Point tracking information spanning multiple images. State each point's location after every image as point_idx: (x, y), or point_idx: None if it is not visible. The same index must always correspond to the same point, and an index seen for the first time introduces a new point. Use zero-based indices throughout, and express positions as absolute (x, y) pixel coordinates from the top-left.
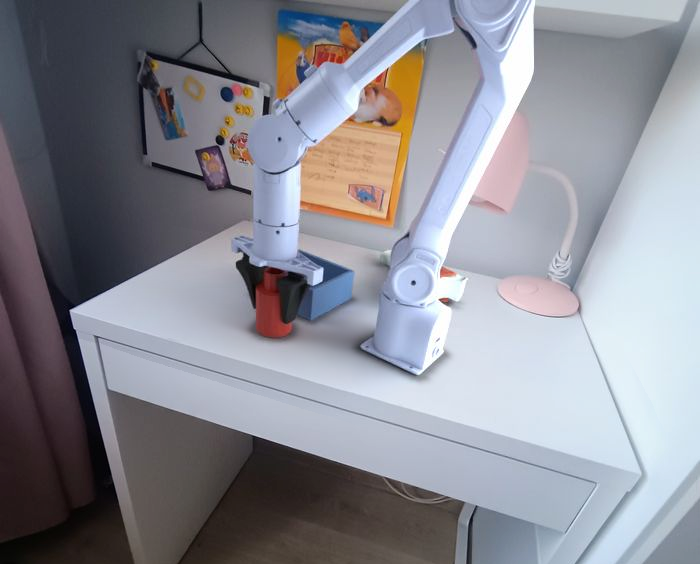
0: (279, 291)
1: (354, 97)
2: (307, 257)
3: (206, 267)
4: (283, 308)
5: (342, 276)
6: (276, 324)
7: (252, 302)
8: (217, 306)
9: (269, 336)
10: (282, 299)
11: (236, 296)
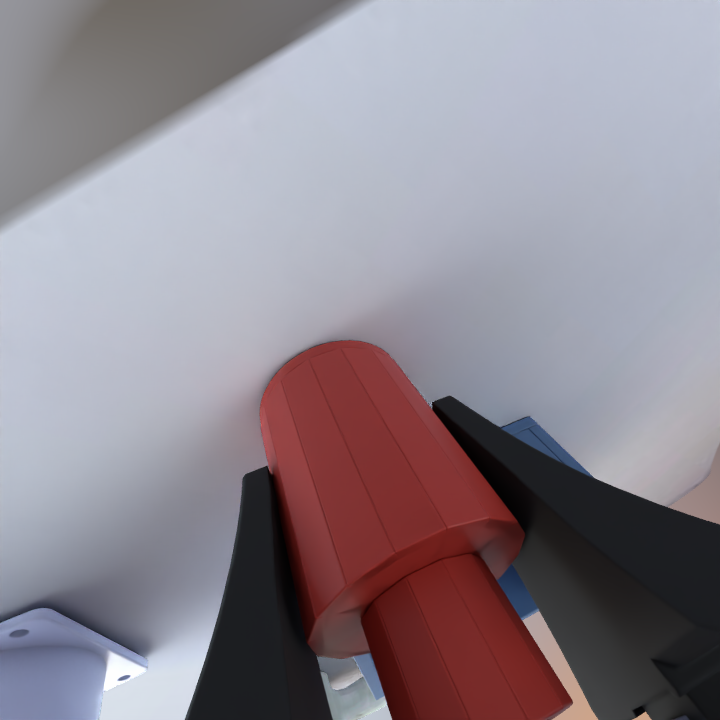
0: (286, 713)
1: None
2: (521, 602)
3: (706, 354)
4: (257, 558)
5: (369, 687)
6: (278, 436)
7: (467, 414)
8: (579, 287)
9: (283, 368)
10: (263, 634)
11: (564, 367)
